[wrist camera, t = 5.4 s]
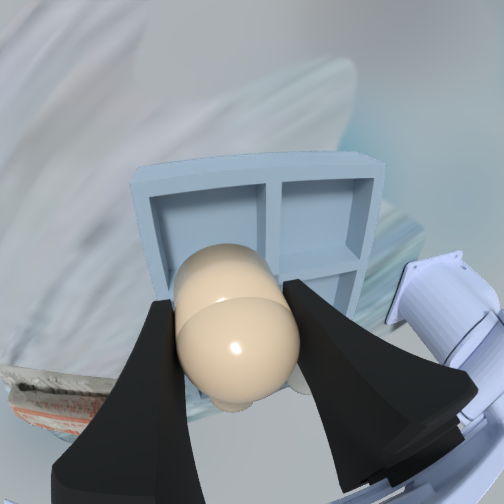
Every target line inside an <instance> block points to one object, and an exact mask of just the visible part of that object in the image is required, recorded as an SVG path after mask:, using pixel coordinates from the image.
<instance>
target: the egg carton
mask: <svg viewBox="0 0 504 504" xmlns="http://www.w3.org/2000/svg"><path fill="white" fill-rule="evenodd" d="M385 172H386V164H384V163H382V162H380V161H377V160H375V159H373V158H371V157H369V156H367V155H365V154H362V153H360V152H334V151H321V152H280V153H260V154H245V155H233V156H221V157H211V158H202V159H193V160H185V161H177V162H170V163H163V164H157V165H150V166H144V167H138V169H137V171H136V173H135V175H134V177H133V179H132V180H131V182H130V188H131V194H132V199H133V204H134V209H135V214H136V219H137V224H138V228H139V233H140V237H141V241H142V246H143V250H144V254H145V258H146V262H147V266H148V269H149V273H150V277H151V281H152V284H153V288H154V291H155V295H156V298H157V301H159V300H166V299H171V303H172V307H173V311H174V294H173V283H174V278H175V275H176V273H177V271H178V269H179V267H180V266H181V265H182V263H183V262H184V261H185V260H186V259H187V258H188V257H190V256H191V255H192V254H194V253H195V252H197V251H199V250H201V249H203V248H205V247H208V246H211V245H216V244H224V243H231V244H239V245H243V246H246V247H249V248H251V249H253V250H255V251H256V252H258V253H259V254H260V255H261V256H262V257H263V258H264V259H265V260H266V262H267V264H268V265H269V267H270V269H271V271H272V273H273V275H274V277H275V279H276V281H277V283H278V286H279V288H280V290H281V292H282V290H283V281H289V280H295V279H300V280H301V281H302V282H303V283H305V284H306V285H307V286H308V287H309V288H311V289H312V290H313V291H314V292H316V293H317V294H318V295H319V296H320V297H322V298H323V299H324V300H325V301H327V302H328V303H329V304H330V305H332V306H333V307H334V308H336V309H337V310H338V311H339V312H341V313H342V314H343V315H345V316H346V317H348V318H349V319H350V320H353V317H354V313H355V310H356V306H357V303H358V300H359V296H360V292H361V289H362V285H363V281H364V277H365V274H366V270H367V266H368V261H369V257H370V253H371V249H372V244H373V240H374V235H375V230H376V225H377V220H378V215H379V209H380V204H381V198H382V192H383V186H384V179H385ZM185 383H186V386H187V388H188V391H189V393H190V396H191V398H192V401H193V403H194V404H202V403H209V402H211V401H210V399H209V397H208V395H206V394H204V393H203V392H201V391H200V390H199V389H197V388H196V387H195V386H194V385H193V384H192V383H191V382H190V380H189V379H188V378H187V376H186V375H185ZM285 387H289V385H288V383H287V381H286V382H285V383H284V385H283V386H282V387H281V388H285ZM281 388H279V389H281Z"/></svg>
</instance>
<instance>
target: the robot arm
mask: <svg viewBox="0 0 504 504" xmlns="http://www.w3.org/2000/svg"><path fill="white" fill-rule="evenodd" d="M462 256H463V252H462V251H461V250H459V251H455V252H451V253H447V254H443V255H439V256H435V257H431V258H427V259H423V260H419V261H414V262H410V263H408V264H407V265H406V267H405V270H404V273H403V276H402V279H401V282H400V285H399V288H398V291H397V293H396V296H395V299H394V302H393V304H392V307H391V310H390V312H389V315H388V317H387V320H386V323H387V324H388V325H390V324H393V323H396V322H399V321H402V320H404V319H405V320H406V321H407V322H408V323H409V324H410V326H411V327H412V328H413V330H414V331H415V332H416V333H417V335H418V336H419V337H420V339H421V340H422V341H423V343H424V344H425V345H426V346H427V348H428V349H429V350H430V352H431V353H432V354H433V356H434V357H435V358H436V360H437V361H438V362H439V364H437V363H434V362H432V361H429V360H426V359H423V358H420V357H418V356H416V355H413V354H411V353H408V352H406V351H404V350H402V349H400V348H398V347H396V346H394V345H391V344H390V343H388V342H386V341H384V340H382V339H381V338H379V337H377V336H375V335H374V334H372V333H370V332H369V331H367V330H365V329H364V328H362V327H361V326H359V325H358V324H356V323H355V322H353V321H352V320H350V319H349V318H348V317H346V316H345V315H343V314H342V313H341V312H339V311H338V310H337V309H336V308H334V307H333V306H332V305H330V304H329V303H328V302H327V301H325V300H324V299H323V298H322V297H320V296H319V295H318V294H317V293H316V292H314V291H313V290H312V289H311V288H309V287H308V286H307V285H306V284H305V283H303V282H302V281H301V280H300V279H295V280H289V281H283V290H282V294H283V296H284V298H285V300H286V302H287V304H288V306H289V308H290V310H291V312H292V314H293V316H294V318H295V321H296V323H297V326H298V330H299V335H300V352H299V357H298V361H297V364H298V366H299V368H300V370H301V372H302V374H303V376H304V378H305V380H306V382H307V384H308V386H309V388H310V391H311V393H312V395H313V398H314V400H315V403H316V406H317V409H318V412H319V414H320V417H321V420H322V423H323V426H324V429H325V433H326V436H327V439H328V442H329V446H330V449H331V452H332V456H333V460H334V464H335V468H336V471H337V475H338V480H339V485H340V487H341V489H342V492H343V493H346V492H349V491H351V490H353V489H356V488H358V487H361V486H363V485H365V484H367V483H369V485H370V486H369V487H367V488H365V489H362V490H360V491H358V492H356V493H353V494H351V495H349V496H346V497H344V498H341V499H339V500H336V501H333V502H331V503H328V504H371V503H373V502H375V501H377V500H379V499H381V498H383V497H385V496H387V495H389V494H391V493H393V492H395V491H396V490H398V489H400V488H402V487H404V486H405V485H406V486H405V490H404V492H402V493H400V494H398V495H396V496H393V497H391V498H389V499H387V500H385V501H383V502H381V503H379V504H477V503H478V501H479V500H480V499H481V498H482V497H483V495H484V494H485V493H486V492H487V490H488V489H489V488H490V487H491V485H492V484H493V483H494V481H495V480H496V479H497V477H498V476H499V475H500V473H501V472H502V470H503V469H504V309H501V310H500V305H499V300H498V297H497V294H496V292H495V291H494V289H493V288H492V287H491V286H490V285H489V284H488V283H487V282H486V281H484V280H483V278H482V277H480V276H479V275H478V274H477V273H476V272H475V271H474V270H473V269H472V268H471V267H469V266H468V265H467V264H466V263H465V262H464V261H462V260H461V258H462ZM459 423H461V424H462V425H464V428H463V429H462V430H461V431H460V430H459V428H458V426H457V425H458V424H459ZM51 503H52V504H206V503H205V500H204V497H203V493H202V489H201V486H200V482H199V478H198V474H197V470H196V466H195V461H194V457H193V452H192V447H191V442H190V437H189V431H188V425H187V417H186V400H185V373H184V372H183V370H182V368H181V366H180V363H179V360H178V356H177V351H176V340H175V320H174V311H173V307H172V303H171V299H166V300H159V301H154V302H153V303H152V304H151V307H150V310H149V312H148V315H147V318H146V320H145V323H144V325H143V328H142V330H141V333H140V335H139V337H138V339H137V342H136V344H135V346H134V348H133V351H132V353H131V355H130V357H129V359H128V361H127V363H126V365H125V367H124V369H123V371H122V372H121V374H120V376H119V378H118V380H117V382H116V383H115V385H114V387H113V388H112V390H111V392H110V393H109V395H108V397H107V398H106V400H105V401H104V403H103V404H102V406H101V407H100V409H99V410H98V412H97V413H96V415H95V416H94V417H93V419H92V420H91V421H90V423H89V424H88V425H87V426H86V428H85V429H84V430H83V431H82V433H81V434H80V435H79V437H78V438H77V439H76V440H75V441H74V443H73V444H72V445H71V446H70V447H69V448H68V449H67V450H66V451H65V452H64V453H63V454H62V456H61V457H60V458H59V459H58V460H57V461H56V462H55V463H54V464H53V465H52V473H51ZM4 504H17V503H15V502H12V501H9V500H7V499H5V500H4Z"/></svg>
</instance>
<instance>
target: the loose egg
mask: <svg viewBox="0 0 504 504" xmlns="http://www.w3.org/2000/svg"><path fill="white" fill-rule="evenodd" d="M173 294H174V320H175V340H176V351H177V356H178V360H179V363H180V366H181V368H182V370H183V372H184V373H185V375H186V376H187V378H188V379H189V380H190V382H191V383H192V384H193V385H194V386H195V387H196V388H197V389H199V390H200V391H201V392H203V393H204V394H206V395H208V396H209V397H211V398H214V399H216V400H219V401H222V402H227V403H234V404H242V403H250V402H254V401H258V400H261V399H263V398H266V397H268V396H270V395H271V394H273V393H274V392H276V391H277V390H278V389H279V388H281V387H282V386H283V385H284V383H285V382H286V381H287V380H288V379H289V377H290V376H291V374H292V372H293V371H294V369H295V366H296V364H297V361H298V357H299V352H300V335H299V330H298V326H297V323H296V321H295V318H294V316H293V314H292V312H291V310H290V308H289V306H288V304H287V302H286V300H285V298H284V296H283V294H282V292H281V290H280V288H279V286H278V283H277V281H276V279H275V277H274V275H273V273H272V271H271V269H270V267H269V265H268V264H267V262H266V260H265V259H264V258H263V257H262V256H261V255H260V254H259V253H258V252H256V251H255V250H253V249H251V248H249V247H246V246H243V245H239V244H231V243H224V244H216V245H211V246H208V247H205V248H203V249H201V250H199V251H197V252H195V253H194V254H192V255H191V256H190V257H188V258H187V259H186V260H185V261H184V262H183V263H182V265H181V266H180V267H179V269H178V271H177V273H176V275H175V278H174V283H173Z"/></svg>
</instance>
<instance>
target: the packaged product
mask: <svg viewBox="0 0 504 504" xmlns="http://www.w3.org/2000/svg"><path fill="white" fill-rule="evenodd" d="M0 376H1V377H2V378H3V379H4V381H5V382H6V383H7V384H8V385H9V386H10V388H11V391H10V394H9V397H8V403H9V404H10V406H11V408H12V410H13V412H14V413H15V415H16V416H17V417H19V418H21V419H23V420H24V421H26V422H28V423H29V424H32V425H33V426H37V427H41V428H46V429H49V430H54V431H59V432H63V433H69V434H73V435H80V434H81V433H82V431H83V430H84V429H85V428H86V426H87V425H88V424H89V423H90V421H91V420H92V419H93V417H94V416H95V415H96V413H97V412H98V410H99V409H100V407H101V406H102V404H103V403H104V401H105V400H106V398H107V397H108V395H109V393H110V392H111V390H112V388H113V387H114V385H115V383H116V382H117V380H118V379H111V378H101V377H91V376H81V375H72V374H65V373H58V372H50V371H44V370H37V369H31V368H24V367H18V366H13V365H7V364H0Z"/></svg>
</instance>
